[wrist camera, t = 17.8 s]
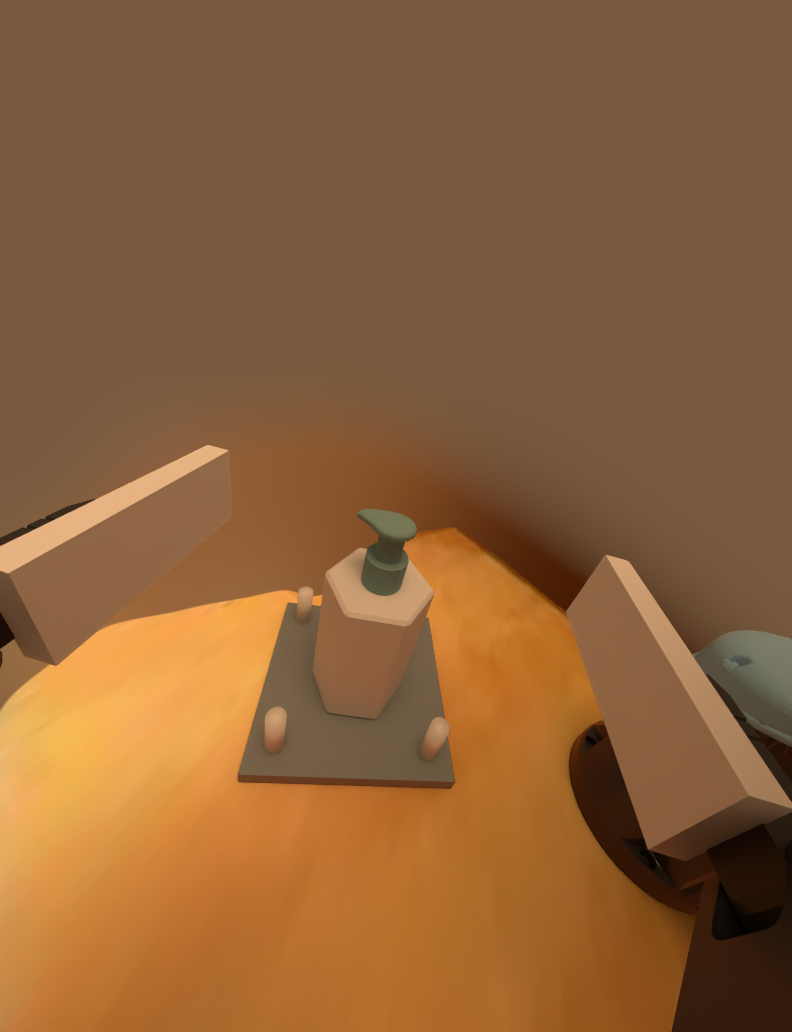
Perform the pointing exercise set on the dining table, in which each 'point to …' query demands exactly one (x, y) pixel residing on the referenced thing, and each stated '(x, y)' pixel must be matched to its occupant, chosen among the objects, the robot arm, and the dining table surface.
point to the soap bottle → (370, 620)
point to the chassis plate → (345, 721)
